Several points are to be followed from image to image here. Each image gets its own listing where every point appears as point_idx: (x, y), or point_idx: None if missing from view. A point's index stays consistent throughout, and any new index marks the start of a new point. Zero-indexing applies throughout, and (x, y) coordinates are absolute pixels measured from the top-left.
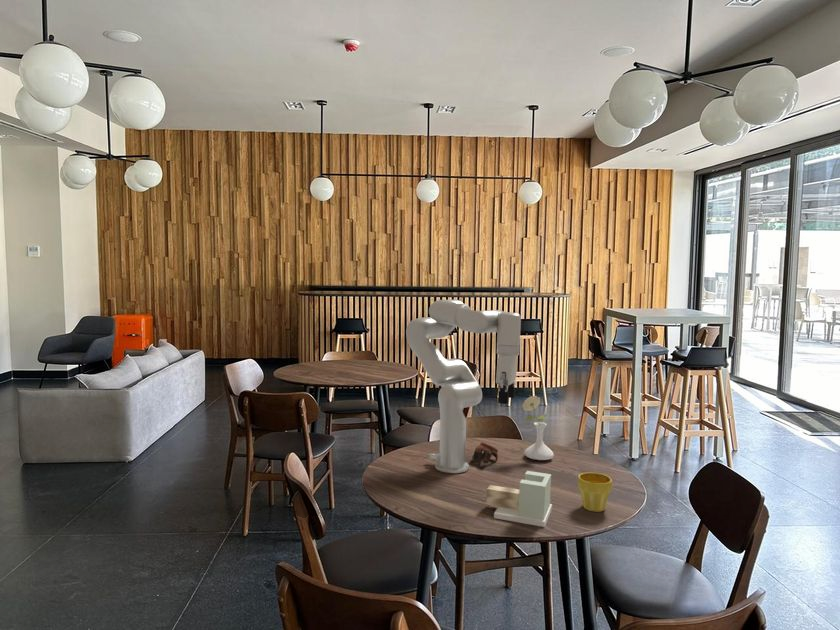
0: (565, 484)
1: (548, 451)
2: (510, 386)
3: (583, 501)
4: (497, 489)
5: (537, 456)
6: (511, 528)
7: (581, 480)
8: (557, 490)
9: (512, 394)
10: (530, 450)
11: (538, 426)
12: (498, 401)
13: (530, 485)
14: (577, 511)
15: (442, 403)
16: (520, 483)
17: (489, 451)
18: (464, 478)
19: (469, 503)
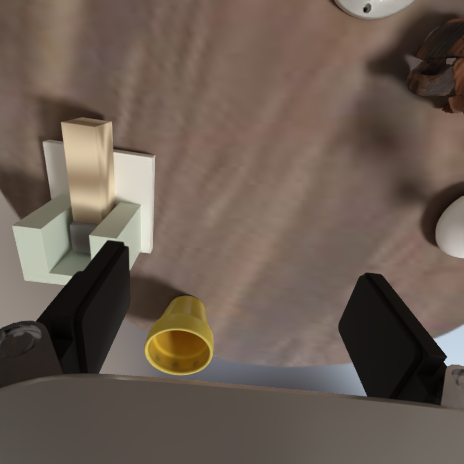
0: (290, 271)
1: (461, 252)
2: (398, 394)
3: (173, 303)
4: (72, 151)
5: (443, 223)
6: (21, 179)
7: (156, 331)
8: (253, 257)
9: (348, 342)
10: None
11: None
12: (105, 247)
13: (19, 248)
14: (160, 286)
15: None
16: (14, 226)
17: (430, 89)
18: (284, 17)
19: (102, 65)
